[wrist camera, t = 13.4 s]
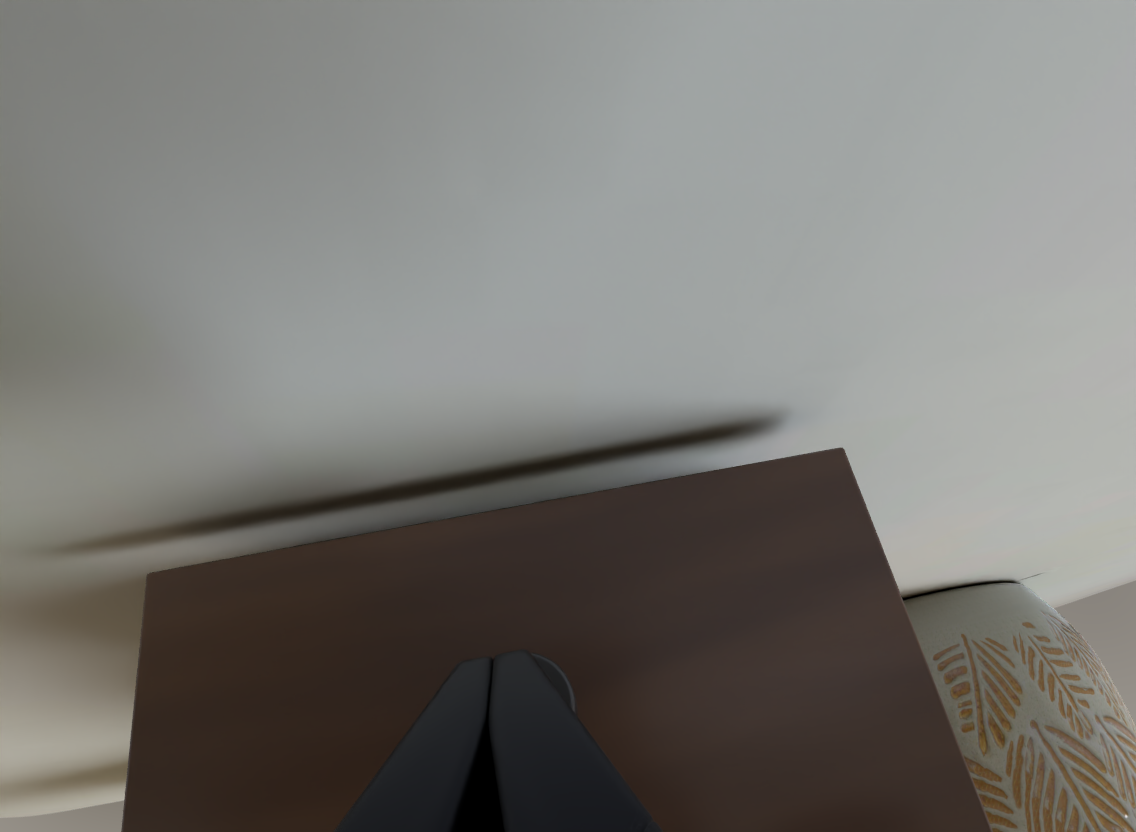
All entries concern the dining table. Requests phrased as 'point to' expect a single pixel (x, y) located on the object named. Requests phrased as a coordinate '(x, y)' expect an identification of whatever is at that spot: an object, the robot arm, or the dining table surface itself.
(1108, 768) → the vase
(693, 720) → the drawer
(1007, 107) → the dining table surface
